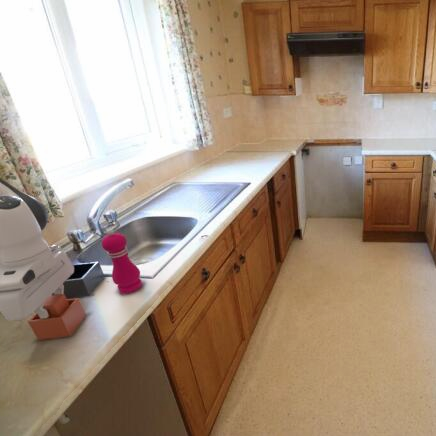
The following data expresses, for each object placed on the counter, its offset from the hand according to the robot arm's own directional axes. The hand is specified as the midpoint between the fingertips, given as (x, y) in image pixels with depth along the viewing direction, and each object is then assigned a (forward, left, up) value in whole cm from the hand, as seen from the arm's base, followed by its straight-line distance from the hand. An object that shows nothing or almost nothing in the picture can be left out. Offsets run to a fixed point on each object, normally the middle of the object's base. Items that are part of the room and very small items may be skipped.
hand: (53, 308), depth 82 cm
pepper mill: (+11, +15, -6) cm, 20 cm away
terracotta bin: (0, 0, -6) cm, 6 cm away
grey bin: (-5, +18, -6) cm, 20 cm away
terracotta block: (0, 0, -2) cm, 2 cm away
